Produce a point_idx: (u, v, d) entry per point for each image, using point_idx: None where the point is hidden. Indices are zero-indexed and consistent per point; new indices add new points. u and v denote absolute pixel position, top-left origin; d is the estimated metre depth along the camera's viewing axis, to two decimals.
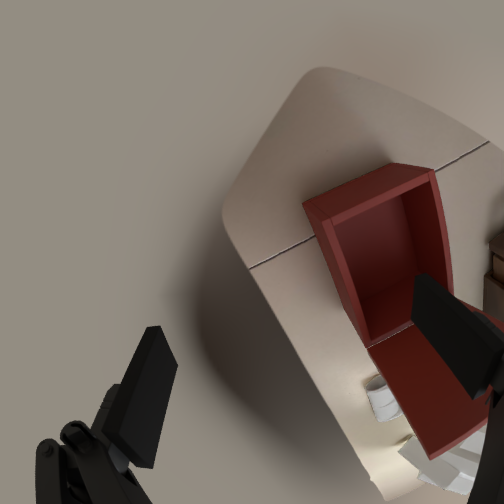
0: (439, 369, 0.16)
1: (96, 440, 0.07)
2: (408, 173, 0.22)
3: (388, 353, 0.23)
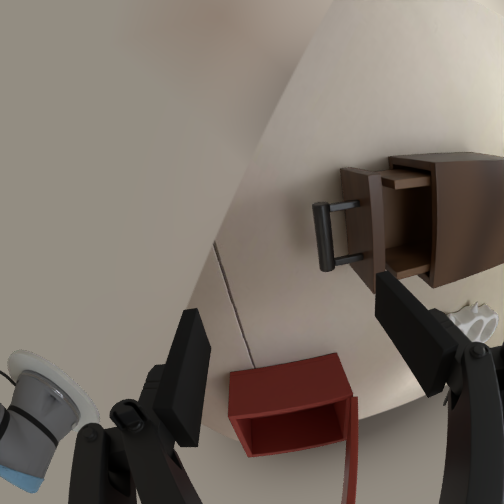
0: (344, 483, 0.22)
1: (148, 420, 0.08)
2: None
3: None
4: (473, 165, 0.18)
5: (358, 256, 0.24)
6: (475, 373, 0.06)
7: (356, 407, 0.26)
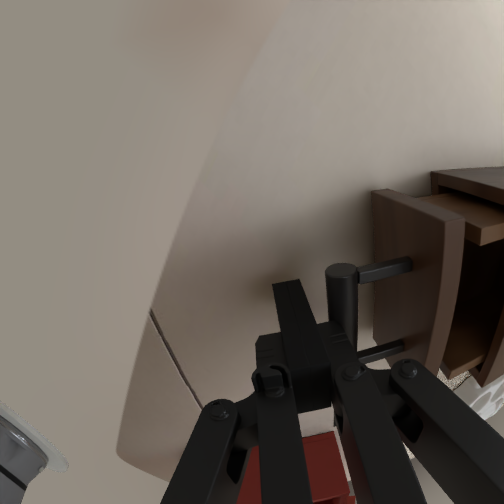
0: None
1: (289, 388, 0.08)
2: None
3: None
4: None
5: (395, 348, 0.13)
6: (353, 398, 0.07)
7: None
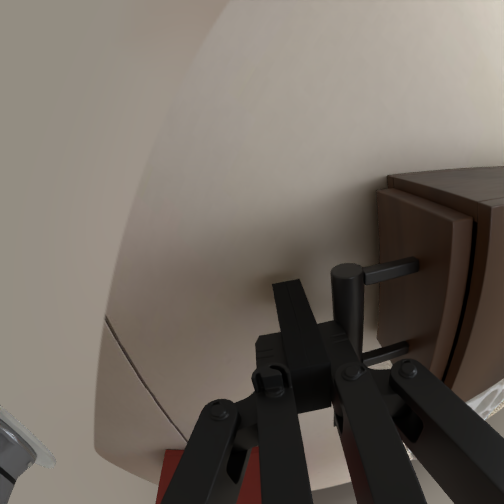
0: None
1: (289, 388, 0.08)
2: None
3: None
4: None
5: (401, 349, 0.13)
6: (353, 398, 0.07)
7: None
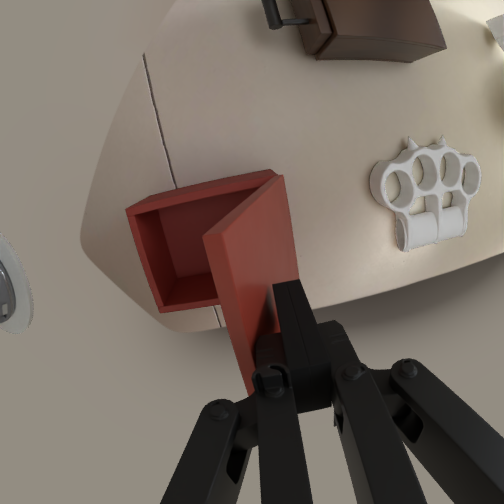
0: None
1: (289, 388, 0.08)
2: None
3: None
4: None
5: (303, 19, 0.20)
6: (353, 398, 0.07)
7: (278, 177, 0.22)
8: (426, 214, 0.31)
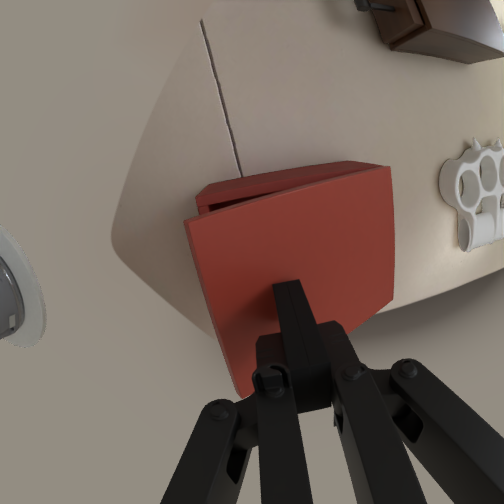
0: None
1: (289, 388, 0.08)
2: None
3: None
4: None
5: (389, 6, 0.16)
6: (353, 398, 0.07)
7: (377, 168, 0.18)
8: (485, 215, 0.27)
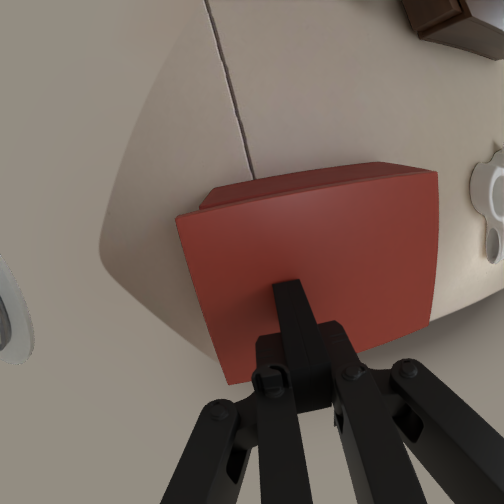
0: None
1: (289, 388, 0.08)
2: None
3: None
4: None
5: None
6: (353, 398, 0.07)
7: (417, 173, 0.14)
8: None
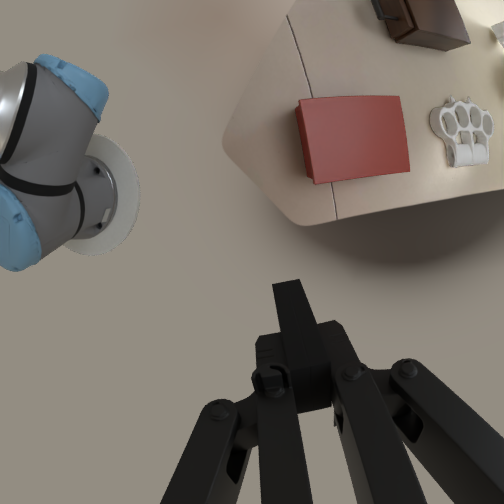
0: None
1: (289, 388, 0.08)
2: None
3: None
4: None
5: (395, 17, 0.29)
6: (353, 398, 0.07)
7: None
8: (464, 144, 0.40)
